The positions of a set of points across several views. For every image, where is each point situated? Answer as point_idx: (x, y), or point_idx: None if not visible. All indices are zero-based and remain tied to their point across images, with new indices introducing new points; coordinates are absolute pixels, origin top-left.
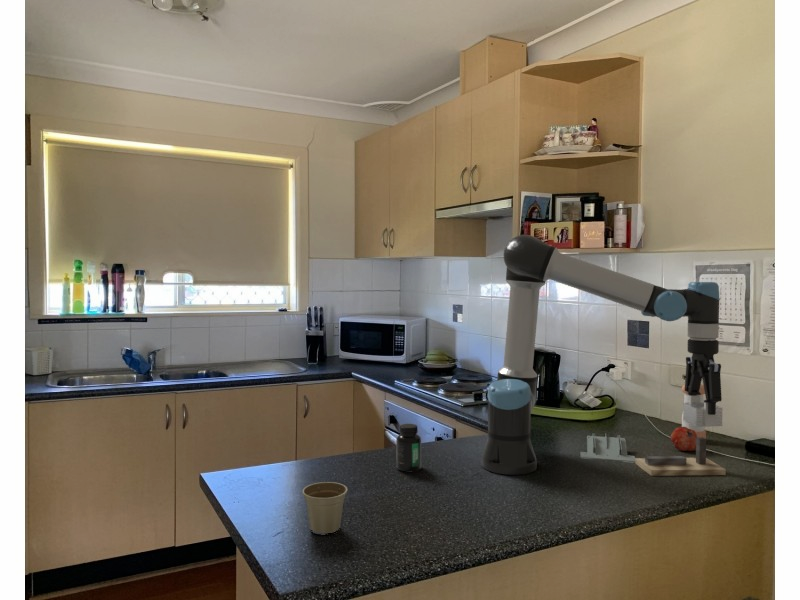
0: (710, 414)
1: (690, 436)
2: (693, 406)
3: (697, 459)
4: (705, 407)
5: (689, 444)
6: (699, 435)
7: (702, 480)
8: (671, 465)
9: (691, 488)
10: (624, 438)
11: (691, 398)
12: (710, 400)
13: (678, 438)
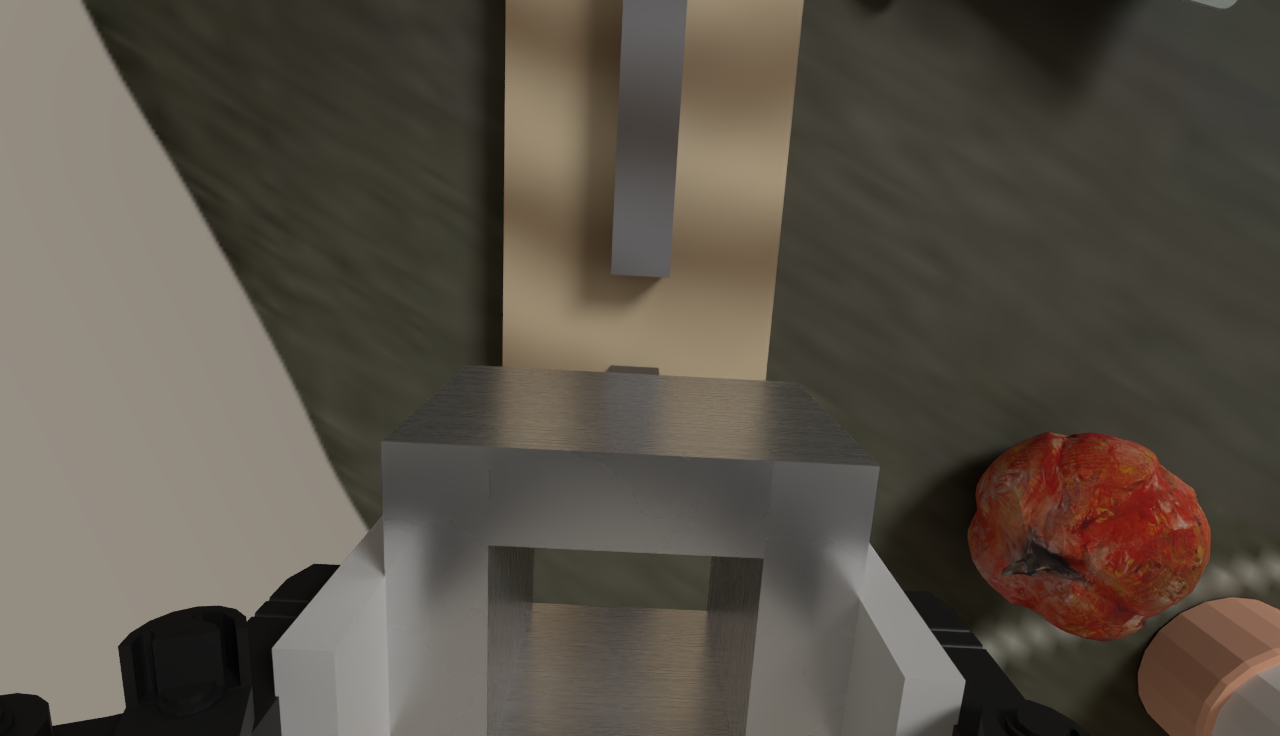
0: (308, 572)
1: (1021, 554)
2: (535, 472)
3: (637, 373)
4: (329, 587)
5: (982, 513)
6: (1182, 708)
7: (413, 261)
8: (604, 144)
9: (260, 96)
10: (1228, 5)
11: (884, 659)
12: (38, 707)
13: (1054, 464)
